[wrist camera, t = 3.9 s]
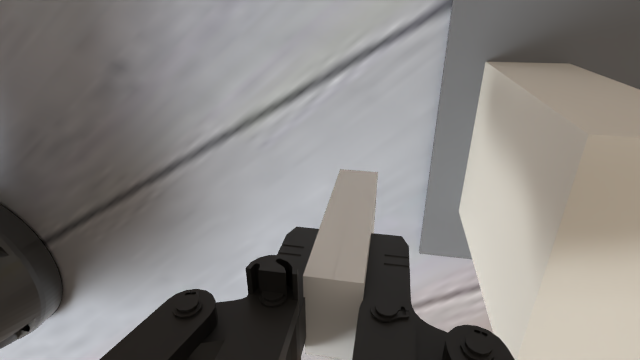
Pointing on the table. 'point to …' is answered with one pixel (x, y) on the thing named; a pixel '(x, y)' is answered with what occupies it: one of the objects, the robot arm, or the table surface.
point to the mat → (513, 46)
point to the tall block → (556, 211)
